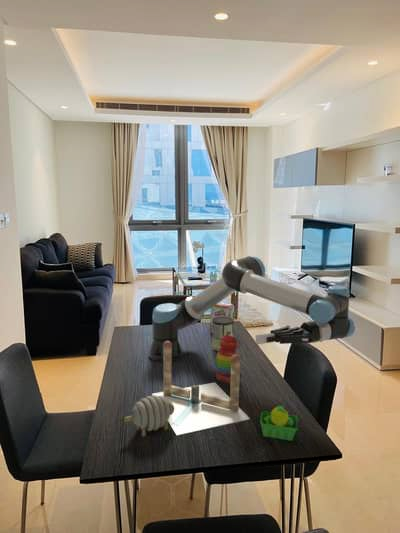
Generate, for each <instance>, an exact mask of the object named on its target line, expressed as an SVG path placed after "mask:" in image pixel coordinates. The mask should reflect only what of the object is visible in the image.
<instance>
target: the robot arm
mask: <svg viewBox="0 0 400 533" xmlns="http://www.w3.org/2000/svg"><path fill="white" fill-rule="evenodd" d="M264 264H265V263H264V262H263V261H262V260H261V258H259V257H257V256H254V255H252V256H250V255H248V256H246V257H242V258H237V259H233V260H231V261H228V262H227V263H226V264H225V265H224V266H223V269H222V273H221V274H222V275H221V277H220V278H218V279H217V280H215V281H214V282H213V283H211V284H210V285H209V286H207V287H205V289H203V290H201V292H199V293H198V294H196V295H195V296H193V295H192V296H188V297H186V298H185V299H184V300H182V301H181V302H179V303H171V302H167V303H162V304H161V303H160V304H158V305H156V306H155V307H154V308H153V310H152V315H151V316H152V317H151V319H152V341H151V344H150V347H149V350H148V357H149V359H151V360H153V361H156V362H161V363H163V343H164V342H165V341H170V342H171V343H172V362H174V361H178V360H179V359H181V358H182V356H183V350H182V346H181V344H180V340H179V331H180V330H182V329H184V328H188V327H190V326H193V325H195V324H197V323H198V322H200V321H201V319H202V318H204V316H205V313H206V312H207V311H208V310H211V307H213V306H214V305H216V304H217V303H219V302H220V303H221V302H222V301H224V300H225V299H227V298H229V296H231V295H233V294H234V293H235V292H238V293H241V294H244V295H246V294H251V295H254V296H255V297H258V298H262V299H264V300H266V301H269V302H272V303H275V304H277V305H280V306H282V307H284V308H285V307H286V308H288V309H291V310H294V311H296V312H299V313H302V314H305V315H307V316H309V317H310V318H311V320H312V321H304V322H303V323H302V324H301V325H300V326H294V327H291V326H290V325H286V326H283V327H279V328H275V329H272V330H270V333H264V334H258V335H257V334H255V344H257V345H263V344H271V343H279V344H280V345H284V344H285V345H286V344H312V343H317V342H320V343H322V342H323V341H330V340H338V339H344V338H348V337H351V336H353V334H355V331H356V330H355V329H356V326H355V323H354V320H353V319H352V318H351V317H350V316H349V310H350V309H349V307H350V306H349V304H350V289H349V288H348V287H347V286H344V285H330V286H328V288H327V293H326V296H324V297H323V296H320V295H317V294H315V293H312V292H308V291H306V290H303V289H300V288H297V287H294V286H292V285H288V284H286V283H282V282H279V281H276V280H273V279H271V278H267V277H265V275H266V268H265V265H264Z"/></svg>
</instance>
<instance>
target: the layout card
mask: <svg viewBox="0 0 400 533" xmlns="http://www.w3.org/2000/svg"><path fill="white" fill-rule="evenodd" d="M197 385H198V386H199V402H198V403H192V402H191V386H188V387H184V388H185V389H189V390H190V398H189V399H187V398H183V397H179V396H175V395H170V396H164V395H163V391H159V392H154V393H153V392H152V393H151V396H154V395H156V396H163V397H164V398H165V399H166V400H167V401H169V402H171V403H172V404H173V406H174V412H173V414H171V415H170V417H169V419H168V425H169V426H170V427H171V429H172V431H173V432H174V434H175V435H176V437H179V436H181V435H186V434H191V433H196V432H199V431H200V432H201V431H205V430H209V429H213V428H218V427H223V426H226V425H227V426H228V425H231V424H237V423H240V422H245V421H249V420H251V419H250V417H249V416H248V414H246V413H245V412H244V411H243V410H242V409H241V408H240V407H238V411H237V412H231V411H230V409H225V408H221V407H218V406H214V405H210V404H206V403H202V402H201V394H202V393H205V394H209V395H213V396H217V397H221V398H225V399H229V400H230V395H228V394H226V392H225V391H224V390H223V389H222V388H221V387H220V386H219V384H217V383H216V382H211V383H204V384H197Z"/></svg>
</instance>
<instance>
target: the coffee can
mask: <svg viewBox="0 0 400 533" xmlns="http://www.w3.org/2000/svg"><path fill="white" fill-rule="evenodd" d="M212 321H213V330H212V333H211V334H212V339H211V340H212V341H211V342H212V344H211V348H212V349H213V350H214V351H217V352H218V351H219V350H220V349H221V347H220V340H221V338H222V337H224V336H226V334H228V336H232V337H234V322H235V320H234V318H233V319H232V318H229V317H215V318H213V319H212Z"/></svg>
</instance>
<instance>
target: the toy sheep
mask: <svg viewBox="0 0 400 533" xmlns="http://www.w3.org/2000/svg"><path fill="white" fill-rule="evenodd" d="M173 412H174V406H173V404H172V403H171V402H169V401H167V400H166V399H165V398H164V397H163V396H156V395H154V396H152V395H148V396H146V397H143V398H141V399H140V400H139V401H136V402H135V403H134V406H133V407H132V410H131V415H128V416H125V417H124V418H123V420H124V422H125V423H128V422H131V421H132V422H133V423H134V424H135V426H136V430H137V431H140V430H141V437H143V438H145V437H146V434H147V432H151V431H158V430H159V428H163V429H164V430H165V431H168V429H169V422H168V419H169V417H170V415H171V414H173ZM146 431H147V432H146Z"/></svg>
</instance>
